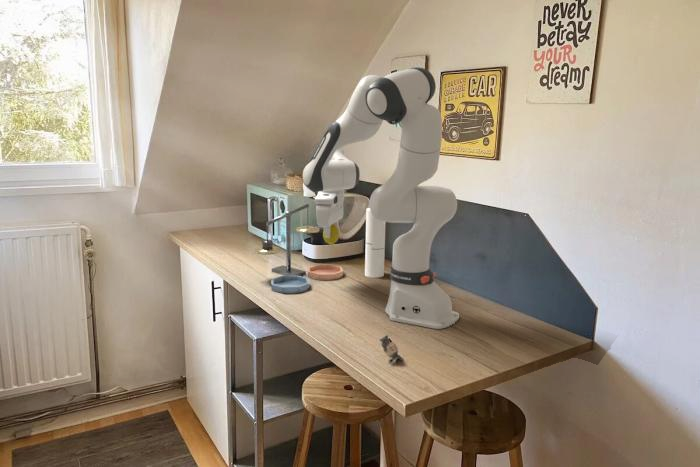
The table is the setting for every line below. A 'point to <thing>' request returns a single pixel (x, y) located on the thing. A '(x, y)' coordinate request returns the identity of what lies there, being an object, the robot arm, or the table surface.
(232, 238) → the table surface
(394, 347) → the grey brown knobbly figurine
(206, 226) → the table surface
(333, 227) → the lemon
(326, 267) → the terracotta dish
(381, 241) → the cylindrical container
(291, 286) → the blue dish
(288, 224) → the balance
